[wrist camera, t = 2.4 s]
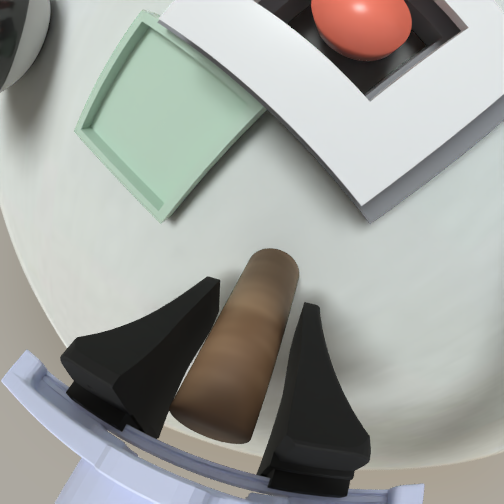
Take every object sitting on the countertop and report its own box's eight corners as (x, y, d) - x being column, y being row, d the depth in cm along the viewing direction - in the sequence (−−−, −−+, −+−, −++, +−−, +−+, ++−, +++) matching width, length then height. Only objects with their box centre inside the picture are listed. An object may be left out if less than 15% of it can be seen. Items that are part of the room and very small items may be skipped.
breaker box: (509, 91, 6) (560, 98, 3) (365, 205, 11) (376, 250, 8) (323, -85, 4) (312, -129, 1) (181, 29, 9) (126, 14, 6)
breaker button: (417, 34, 6) (430, 24, 5) (360, 77, 8) (366, 72, 6) (353, -23, 5) (355, -40, 4) (296, 19, 7) (289, 6, 6)
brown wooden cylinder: (309, 276, 14) (269, 441, 7) (272, 299, 16) (216, 444, 8) (273, 238, 14) (197, 399, 6) (237, 266, 15) (156, 407, 8)
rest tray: (272, 103, 10) (266, 104, 9) (172, 214, 15) (160, 223, 14) (156, 13, 9) (142, 9, 8) (88, 127, 13) (74, 131, 12)
